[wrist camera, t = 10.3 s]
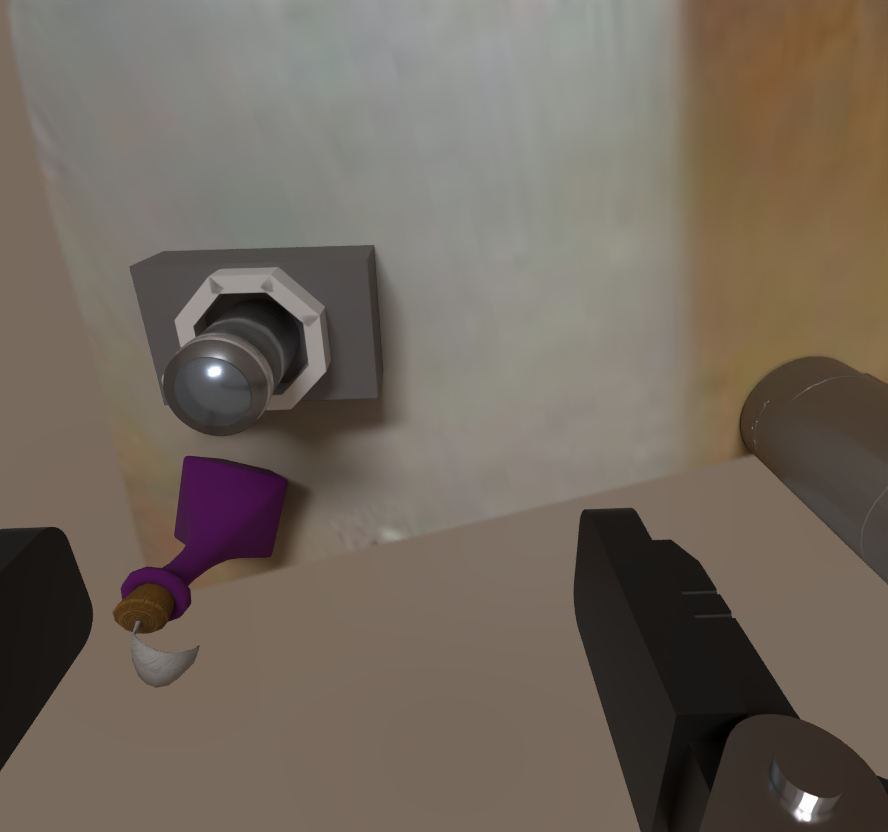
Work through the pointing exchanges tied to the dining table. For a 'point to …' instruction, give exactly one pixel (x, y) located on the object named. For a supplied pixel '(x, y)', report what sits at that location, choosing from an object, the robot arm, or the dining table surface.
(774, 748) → the robot arm
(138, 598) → the perfume bottle
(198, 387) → the lens
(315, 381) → the camera body
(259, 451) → the dining table surface
